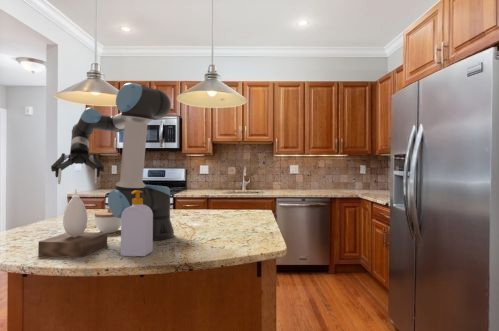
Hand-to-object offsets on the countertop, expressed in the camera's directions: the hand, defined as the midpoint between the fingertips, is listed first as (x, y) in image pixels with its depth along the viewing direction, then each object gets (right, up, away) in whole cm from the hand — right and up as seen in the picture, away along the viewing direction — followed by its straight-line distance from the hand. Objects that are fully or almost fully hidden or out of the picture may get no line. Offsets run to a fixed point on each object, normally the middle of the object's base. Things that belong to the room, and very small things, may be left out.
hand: (77, 181), depth 127 cm
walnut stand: (+8, -25, -15) cm, 30 cm away
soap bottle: (+33, -25, -20) cm, 46 cm away
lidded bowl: (+5, -25, +18) cm, 31 cm away
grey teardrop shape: (+8, -20, -15) cm, 26 cm away
